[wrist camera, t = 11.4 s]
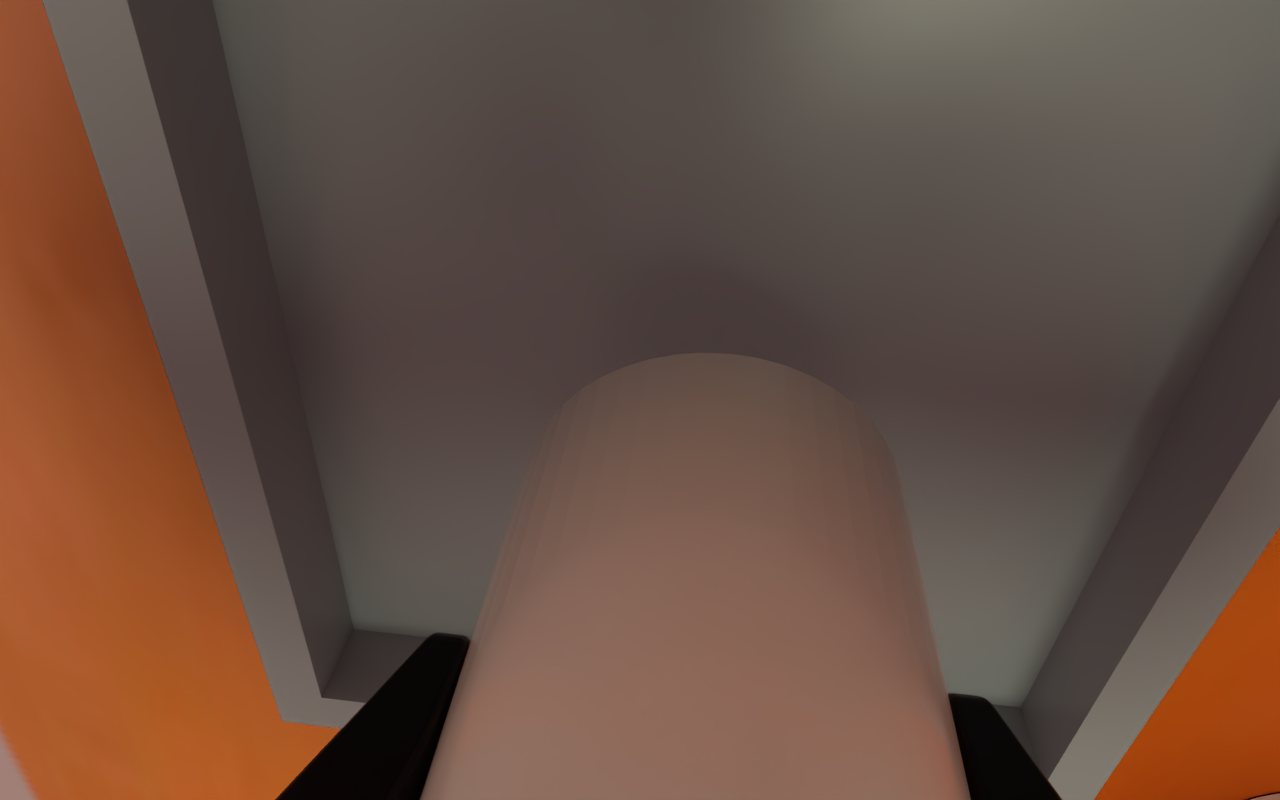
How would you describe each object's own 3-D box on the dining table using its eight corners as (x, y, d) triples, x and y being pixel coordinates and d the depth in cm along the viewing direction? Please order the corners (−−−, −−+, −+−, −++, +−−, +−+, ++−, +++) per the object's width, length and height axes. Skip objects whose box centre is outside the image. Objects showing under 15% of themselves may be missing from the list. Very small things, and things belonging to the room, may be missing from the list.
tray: (1528, -170, 9) (1745, -158, 7) (1043, 708, 19) (1079, 820, 17) (111, -258, 10) (-49, -271, 8) (330, 624, 19) (282, 721, 17)
